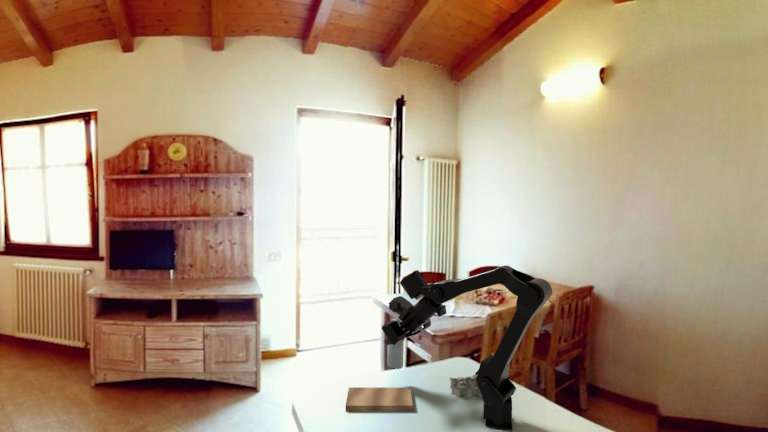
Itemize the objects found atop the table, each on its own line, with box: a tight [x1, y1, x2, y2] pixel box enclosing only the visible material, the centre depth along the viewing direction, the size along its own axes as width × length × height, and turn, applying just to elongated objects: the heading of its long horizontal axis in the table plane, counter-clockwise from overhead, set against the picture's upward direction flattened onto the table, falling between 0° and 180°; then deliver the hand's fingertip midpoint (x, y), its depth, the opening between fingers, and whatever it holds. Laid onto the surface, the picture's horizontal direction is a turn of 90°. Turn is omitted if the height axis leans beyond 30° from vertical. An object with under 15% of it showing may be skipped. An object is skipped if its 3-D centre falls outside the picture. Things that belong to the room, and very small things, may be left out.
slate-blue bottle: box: [386, 318, 404, 369], centre depth 119 cm, size 5×5×14 cm
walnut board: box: [345, 386, 414, 412], centre depth 109 cm, size 18×10×2 cm, turn 90°
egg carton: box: [449, 374, 482, 398], centre depth 115 cm, size 11×8×4 cm
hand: (391, 341), depth 119 cm, fingers closed on slate-blue bottle, 5 cm apart
